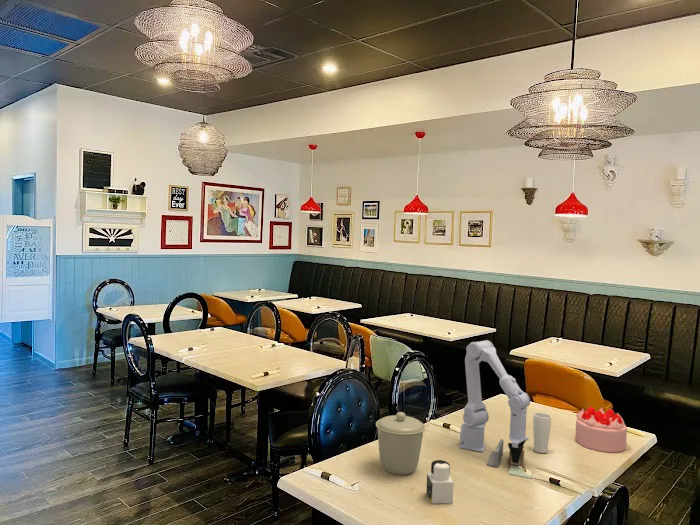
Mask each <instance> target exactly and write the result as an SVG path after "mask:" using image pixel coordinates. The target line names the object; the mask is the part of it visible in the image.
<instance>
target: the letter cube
mask: <svg viewBox="0 0 700 525" xmlns="http://www.w3.org/2000/svg"><path fill="white" fill-rule="evenodd" d="M524 460H525V450H524V449H523V450H522V451H521V454H520V459H519V462H518V463H513V462H512V457H511V452H510V450H509V451H508V466H510V465H514V466H522V465H523V466H524V462H525V461H524Z"/></svg>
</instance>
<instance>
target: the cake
mask: <svg viewBox="0 0 700 525" xmlns="http://www.w3.org/2000/svg"><path fill="white" fill-rule="evenodd" d="M575 416H576V420H575V433H574V434H575V436H574V437H575V438H574V439H575V441H576V443H577V444H579V445H580V446H582V447H585V448H586V449H589V450H593V451H597V452H602V453H610V454H611V453H613V454H614V453H621V452H623V451H625V450H626V447H627V437H628V436H627V433H628V427H627V426H626V424H625V421H624V419H623V418H622V416H621V415H620V414H619V412H616V413H615V411H614V410H613V409H611V408H609V409H607V410H606V412H605V411H604V410H603V407H601V408H600V409H599V410H597V411H596V410H595V408H594V407H593V406H589V407H588V408H587V409H586V410H584V408H582V409H581V410H580V411H578V412H577V413H576V414H575Z"/></svg>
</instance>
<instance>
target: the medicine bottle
mask: <svg viewBox="0 0 700 525" xmlns="http://www.w3.org/2000/svg"><path fill="white" fill-rule="evenodd" d="M430 465H431V466H430V467H431V468H430V472H427V473H426V495H427V497H428V500H429V501H430V503H431V504H454V503H453V502H454V481H453V478H452V477H451V476H450V475H451V465H450V463H449V462H448V461H445V460H442V459H436V460H433V461H432V462H431V464H430Z"/></svg>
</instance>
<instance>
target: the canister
mask: <svg viewBox="0 0 700 525" xmlns="http://www.w3.org/2000/svg"><path fill="white" fill-rule="evenodd" d="M375 427H376V428H377V438H378V440H377V441H378V452H379V462H380V465H381V467H382V469H383V470H384V471H386V472H387V473H389V474H393V475H399V476H400V475H402V476H404V475H405V476H406V475H409V474H413V473H414V472H415V471H416V469H417V468H418V466H419V460H420V455H421V449H422V443H423V435H424V432H425V430H426V425H425V424H424V423H423V422H421V420H419V419H417V418H415V417H412V416H408V415H406V413H405V412H403V411H398V412H397V413H396V414H395V415H393V414H392V415H388V416H384V417H382V418H379V419H378V420H377V421H376V422H375Z"/></svg>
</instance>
